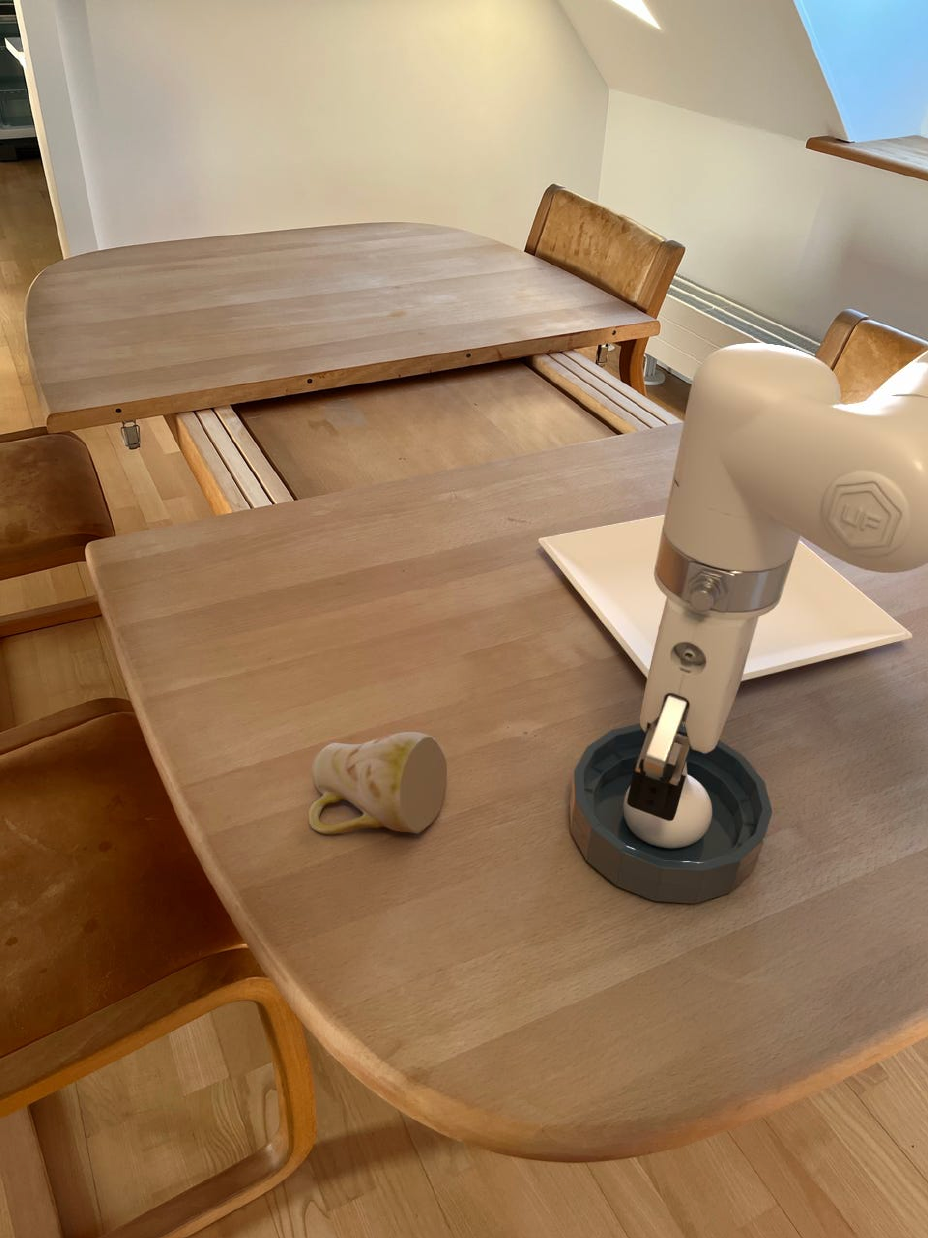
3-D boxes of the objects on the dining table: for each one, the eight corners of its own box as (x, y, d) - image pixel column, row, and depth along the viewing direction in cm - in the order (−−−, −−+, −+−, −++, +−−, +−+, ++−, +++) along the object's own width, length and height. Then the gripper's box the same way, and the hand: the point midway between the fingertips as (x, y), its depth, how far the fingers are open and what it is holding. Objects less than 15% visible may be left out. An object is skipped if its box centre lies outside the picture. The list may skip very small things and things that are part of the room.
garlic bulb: (657, 871, 66) (676, 793, 61) (603, 811, 70) (616, 733, 65) (725, 836, 68) (747, 759, 63) (668, 780, 72) (686, 704, 68)
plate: (746, 512, 106) (750, 496, 104) (908, 652, 86) (915, 634, 85) (535, 553, 98) (536, 536, 97) (661, 716, 79) (665, 698, 77)
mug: (331, 751, 75) (392, 672, 69) (418, 838, 73) (487, 764, 68) (273, 796, 69) (335, 712, 63) (367, 891, 67) (438, 814, 62)
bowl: (775, 796, 72) (787, 760, 69) (733, 937, 62) (746, 900, 60) (605, 737, 76) (610, 701, 74) (541, 860, 67) (545, 823, 64)
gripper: (754, 667, 48) (690, 874, 58) (812, 510, 60) (751, 705, 70) (613, 622, 50) (577, 830, 61) (697, 481, 62) (655, 673, 73)
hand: (671, 762), depth 65 cm, fingers open, 9 cm apart
